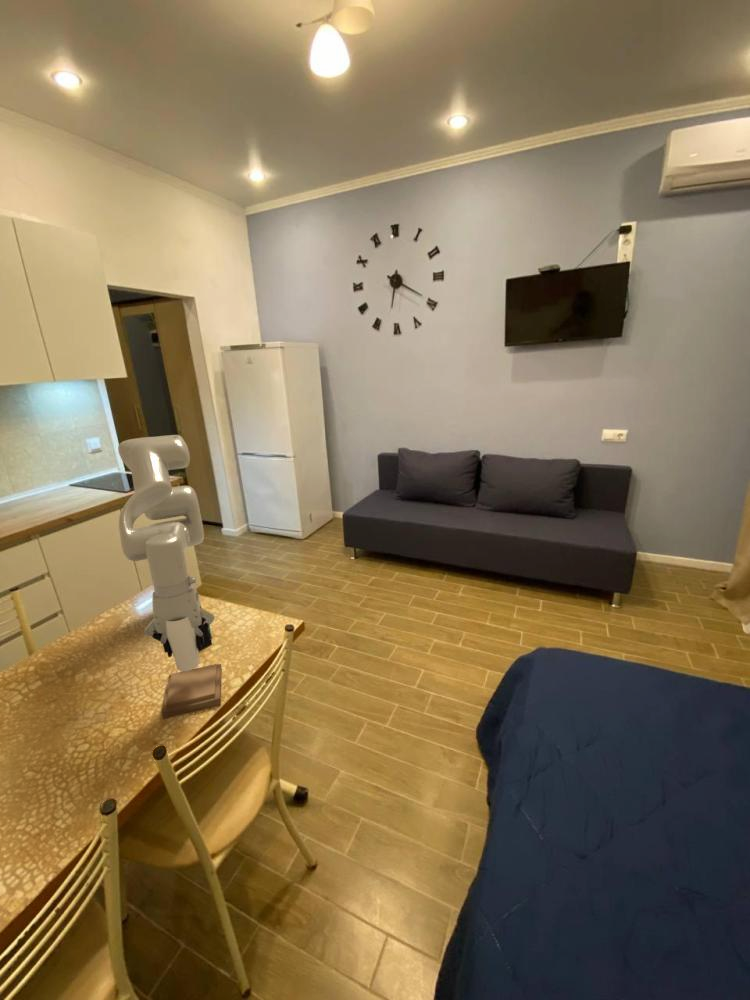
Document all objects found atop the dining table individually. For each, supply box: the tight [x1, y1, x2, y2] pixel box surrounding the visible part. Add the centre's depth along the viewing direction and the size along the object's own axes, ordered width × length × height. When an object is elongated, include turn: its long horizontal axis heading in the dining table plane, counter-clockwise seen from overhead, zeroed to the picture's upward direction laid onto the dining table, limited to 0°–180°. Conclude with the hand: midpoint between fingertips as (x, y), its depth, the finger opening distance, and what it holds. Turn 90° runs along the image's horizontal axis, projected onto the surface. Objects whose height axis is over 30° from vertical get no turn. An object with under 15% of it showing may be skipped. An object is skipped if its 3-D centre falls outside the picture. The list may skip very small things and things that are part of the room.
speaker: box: [198, 617, 213, 652], centre depth 125 cm, size 8×6×10 cm
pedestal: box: [161, 663, 223, 720], centre depth 107 cm, size 13×13×3 cm
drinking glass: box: [166, 617, 201, 672], centre depth 102 cm, size 7×7×15 cm
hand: (185, 649), depth 103 cm, fingers closed on drinking glass, 6 cm apart
